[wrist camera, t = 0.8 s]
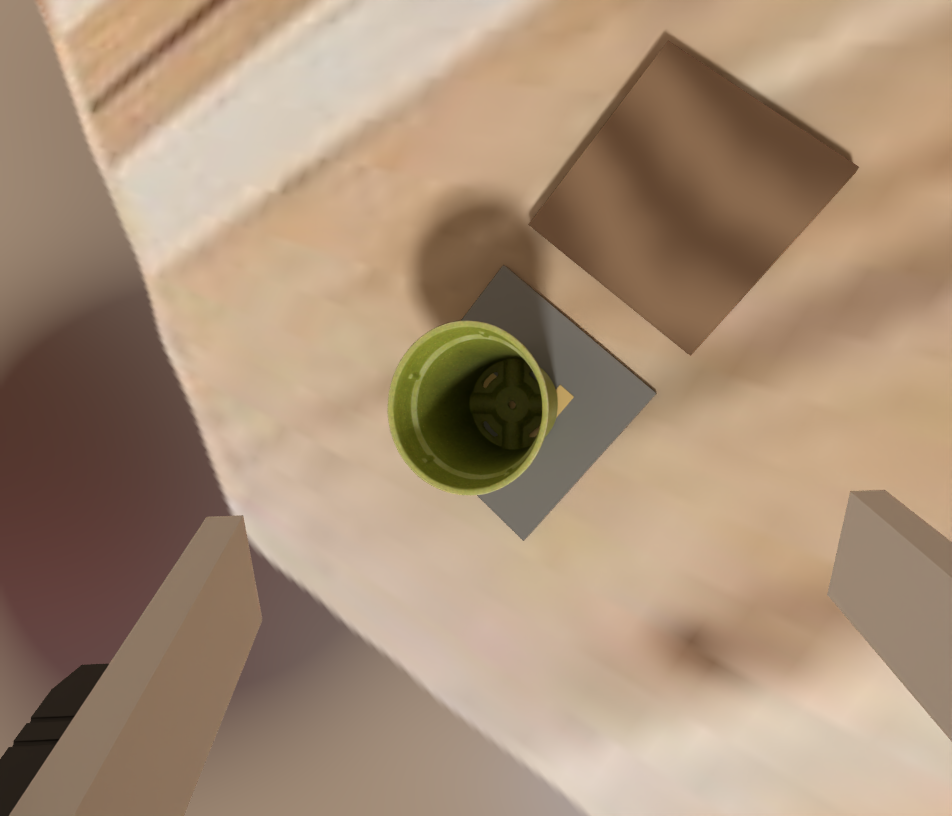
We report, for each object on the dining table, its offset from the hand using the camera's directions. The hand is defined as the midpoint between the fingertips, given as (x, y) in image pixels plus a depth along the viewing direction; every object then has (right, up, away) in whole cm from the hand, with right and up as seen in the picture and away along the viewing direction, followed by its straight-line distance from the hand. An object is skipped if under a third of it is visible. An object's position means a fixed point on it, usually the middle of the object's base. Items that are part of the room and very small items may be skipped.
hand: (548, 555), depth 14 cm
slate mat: (+1, +4, +29) cm, 29 cm away
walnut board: (+11, +16, +24) cm, 31 cm away
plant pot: (+1, +4, +29) cm, 29 cm away
